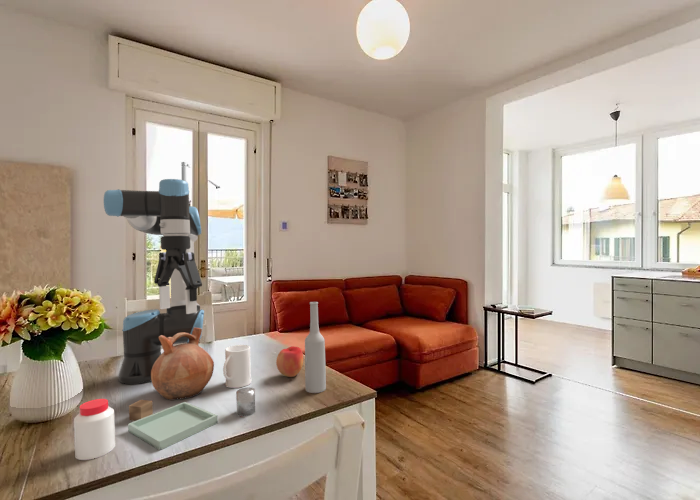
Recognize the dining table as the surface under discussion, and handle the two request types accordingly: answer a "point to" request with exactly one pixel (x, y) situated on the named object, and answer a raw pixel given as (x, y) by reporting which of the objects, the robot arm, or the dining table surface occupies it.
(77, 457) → the pill bottle
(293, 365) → the apple
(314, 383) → the bottle
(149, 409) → the walnut block
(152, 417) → the tray
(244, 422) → the dining table surface
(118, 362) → the dining table surface
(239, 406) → the grey tin
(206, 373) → the jug
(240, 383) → the mug
